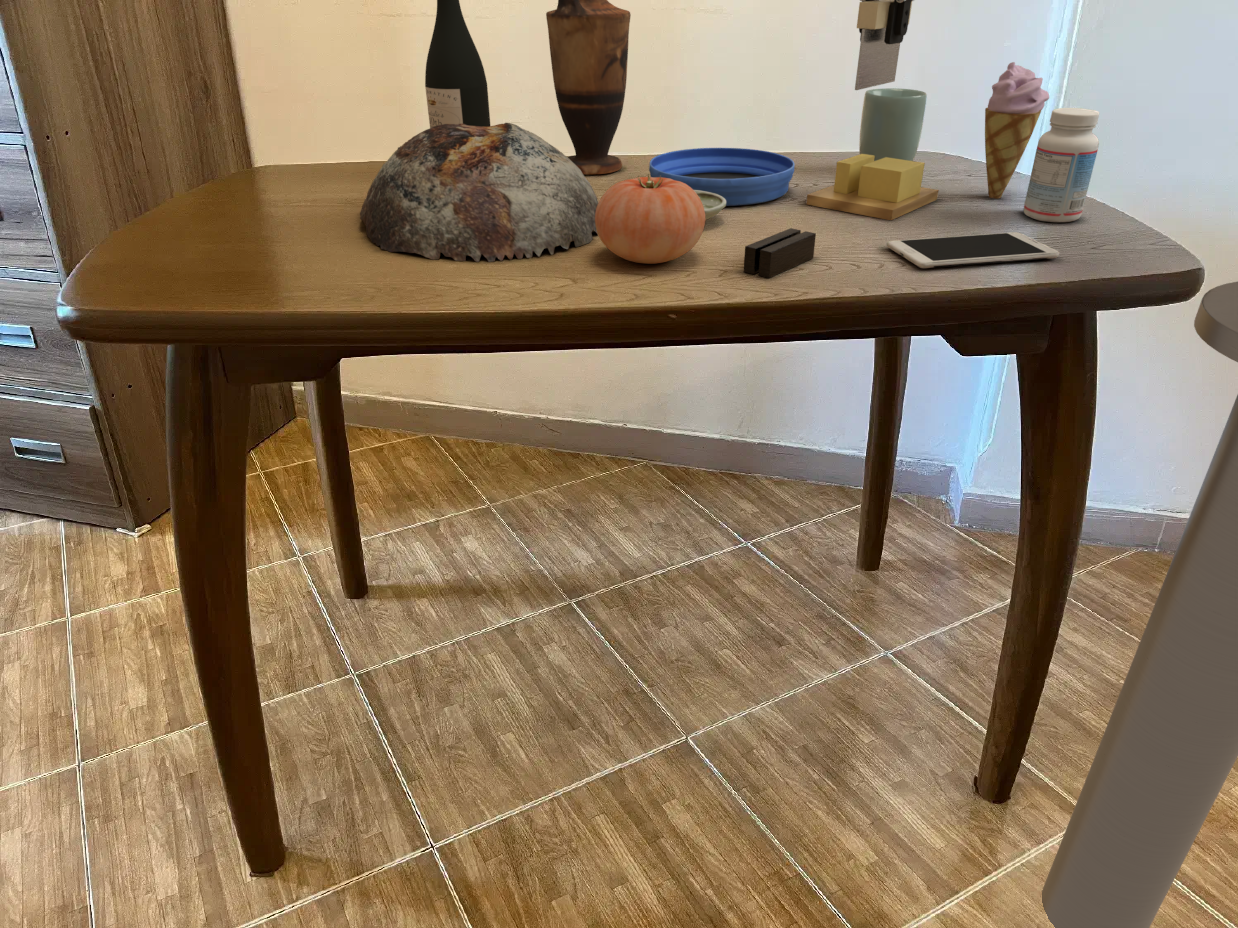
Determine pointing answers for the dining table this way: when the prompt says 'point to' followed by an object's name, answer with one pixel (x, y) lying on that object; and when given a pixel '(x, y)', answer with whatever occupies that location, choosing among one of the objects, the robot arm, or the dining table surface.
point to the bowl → (728, 172)
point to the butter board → (870, 203)
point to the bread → (478, 195)
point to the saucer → (711, 203)
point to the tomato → (650, 219)
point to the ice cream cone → (1010, 123)
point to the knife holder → (779, 252)
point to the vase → (590, 76)
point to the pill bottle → (1063, 166)
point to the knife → (875, 46)
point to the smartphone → (971, 250)
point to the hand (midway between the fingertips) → (881, 41)
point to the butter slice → (850, 173)
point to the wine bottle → (455, 72)
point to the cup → (892, 123)
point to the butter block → (890, 179)
